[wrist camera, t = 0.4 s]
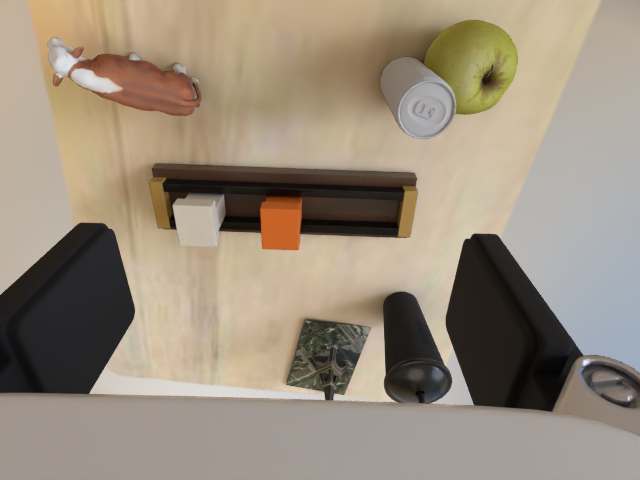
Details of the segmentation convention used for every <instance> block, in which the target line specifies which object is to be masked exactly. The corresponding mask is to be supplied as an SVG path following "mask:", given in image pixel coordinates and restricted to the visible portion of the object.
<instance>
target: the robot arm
mask: <svg viewBox="0 0 640 480" xmlns="http://www.w3.org/2000/svg"><path fill="white" fill-rule="evenodd" d="M134 314H135V308H134V303H133V300H132V296H131V292H130V288H129V285H128V281H127V277H126V273H125V270H124V266H123V262H122V259H121V255H120V251H119V247H118V244H117V240H116V236H115V233H114V231H113V230H112V229H108V227H107V226H106V225H105V224H104V223H79V224H78V225H77V226H75V227H74V228H73V229H72V230H71V231H70V232H69V233H68V234H67V235H66V236H64V237H63V238H62V239H61V240H60V241H59V242H58V243H57V244H56V245H55V246H54V247H52V248H51V249H50V250H49V251H48V252H47V253H46V254H45V255H44V256H43V257H41V258H40V259H39V260H38V261H37V262H36V263H35V264H34V265H33V266H32V267H31V268H29V269H28V270H27V271H26V272H25V273H24V274H23V275H22V276H21V277H20V278H19V279H17V280H16V281H15V282H14V283H13V284H12V285H11V286H10V287H9V288H8V289H7V290H5V291H4V292H3V293H2V294H1V295H0V480H640V373H639V372H638V371H636V370H635V369H634V368H632V367H630V366H628V365H626V364H624V363H622V362H620V361H618V360H615V359H612V358H609V357H605V356H599V355H585V356H583V354H582V353H581V352H580V350H579V349H578V347H577V346H576V344H575V343H574V341H573V340H572V338H571V337H570V336H569V334H568V333H567V331H566V330H565V329H564V327H563V326H562V324H561V323H560V322H559V320H558V319H557V317H556V316H555V315H554V313H553V312H552V311H551V309H550V308H549V307H548V305H547V303H546V302H545V301H544V299H543V298H542V297H541V295H540V294H539V292H538V291H537V289H536V288H535V287H534V286H533V284H532V283H531V281H530V280H529V278H528V277H527V276H526V274H525V273H524V271H523V270H522V269H521V267H520V266H519V264H518V263H517V262H516V260H515V259H514V258H513V256H512V255H511V253H510V252H509V250H508V249H507V248H506V246H505V245H504V244H503V242H502V241H501V239H500V238H499V236H498V235H496V234H473V235H472V236H471V239H465V241H464V243H463V247H462V251H461V255H460V259H459V264H458V268H457V272H456V276H455V280H454V285H453V289H452V293H451V297H450V301H449V306H448V310H447V314H446V328H447V331H448V334H449V337H450V340H451V342H452V345H453V348H454V351H455V353H456V356H457V359H458V362H459V365H460V367H461V370H462V373H463V376H464V378H465V381H466V384H467V387H468V389H469V392H470V395H471V398H472V401H473V403H474V405H446V404H425V403H395V402H365V401H335V400H301V399H268V398H267V399H266V398H232V397H195V396H151V395H108V394H107V395H106V394H89V393H90V391H91V389H92V388H93V386H94V384H95V383H96V381H97V379H98V378H99V376H100V374H101V373H102V371H103V369H104V368H105V366H106V364H107V363H108V361H109V359H110V358H111V356H112V354H113V353H114V351H115V349H116V348H117V346H118V344H119V343H120V341H121V339H122V338H123V336H124V334H125V333H126V331H127V329H128V328H129V326H130V324H131V323H132V321H133V319H134Z"/></svg>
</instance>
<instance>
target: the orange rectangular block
mask: <svg viewBox="0 0 640 480" xmlns="http://www.w3.org/2000/svg"><path fill="white" fill-rule="evenodd" d="M260 214H261V234H262V249H279V250H299V244H300V227H301V218H302V197H292V196H267V198H266V201H265V202H262V205H261V208H260Z"/></svg>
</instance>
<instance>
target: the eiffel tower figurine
mask: <svg viewBox="0 0 640 480" xmlns="http://www.w3.org/2000/svg"><path fill="white" fill-rule="evenodd" d="M370 329H371V328H370V327H363V326H355V325H348V324H338V323H322V322H313V321H306V320H305V321H304V325H303V328H302V332H301V335H300V338H299V342H298V346H297V349H296V353H295V357H294V360H293V364H292V367H291V370H290V374H289V377H288V380H287V383H286V385H290V386H296V387H302V388H308V389H313V390H319V391H324V393H325V400H333V397H334V393H336V394H342V395H344V394H345V391H346V389H347V386H348V384H349V381H350V379H351V376H352V374H353V371H354V369H355V366H356V364H357V361H358V359H359V356H360V354H361V351H362V349H363V346H364V344H365V341H366V339H367V336H368V334H369V331H370Z"/></svg>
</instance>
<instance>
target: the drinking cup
mask: <svg viewBox="0 0 640 480" xmlns="http://www.w3.org/2000/svg"><path fill="white" fill-rule="evenodd" d="M383 312H384V340H385V367H386V376H385V379H384V388H385V391H386V393H387V395H388V396H389V397H390V398H391V399H393V400H394V401H396V402H398V403H425V404H429V403H432V402H435V401H437V400H439V399H440V398H442V397H443V396H444V395H445V394H446V393H447V392H448V391H449V390H450V388H451V384H452V377H451V374H450V371H449V370H448V368H447V367H446V366H445V365H444V363H443V360H442V358H441V356H440V353H439V351H438V349H437V346H436V344H435V342H434V339H433V337H432V335H431V332H430V330H429V328H428V325H427V323H426V321H425V318H424V316H423V314H422V311H421V309H420V306H419V304H418V302H417V300H416V298H415V297H414V296H413V295H412V294H410V293H407V292H397V293H394V294H391V295H390V296H388V297H387V298H386V300H385V301H384V304H383Z"/></svg>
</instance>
